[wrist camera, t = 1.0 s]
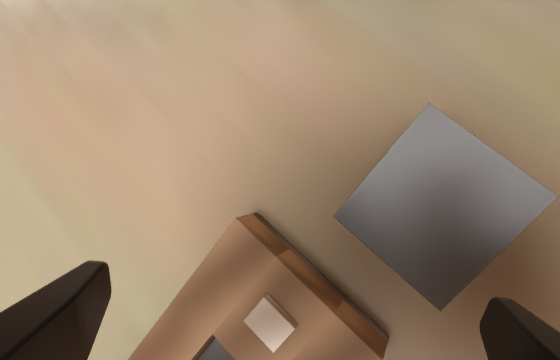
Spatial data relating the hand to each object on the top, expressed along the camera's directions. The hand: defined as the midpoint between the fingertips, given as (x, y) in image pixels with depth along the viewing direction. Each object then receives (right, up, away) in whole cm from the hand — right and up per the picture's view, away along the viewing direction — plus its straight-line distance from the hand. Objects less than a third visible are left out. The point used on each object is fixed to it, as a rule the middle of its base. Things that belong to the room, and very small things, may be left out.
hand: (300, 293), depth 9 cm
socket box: (-3, -10, +18) cm, 21 cm away
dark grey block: (+8, +2, +13) cm, 15 cm away
